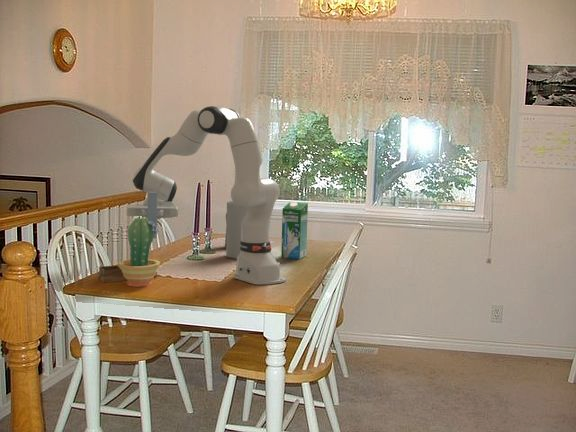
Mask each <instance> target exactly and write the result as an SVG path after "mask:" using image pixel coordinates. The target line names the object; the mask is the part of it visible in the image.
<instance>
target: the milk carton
mask: <svg viewBox="0 0 576 432" xmlns="http://www.w3.org/2000/svg"><path fill="white" fill-rule="evenodd" d="M308 209H309V203H308V202H298V201H297V202H295V201H289V202H288V203H287V204H286V205H285V206H284V207H283V208H282V213H281V214H282V215H281V216H282V218H281V219H282V220H281V221H282V222H281V250H280V251H281V255H280V256H281V258H283V259H284V258H285V259H295V260H300V259H302V258H305V257H307V249H308V247H307V245H308V242H307V240H308V215H309V214H308V213H309V211H308Z"/></svg>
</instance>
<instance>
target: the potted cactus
mask: <svg viewBox="0 0 576 432" xmlns="http://www.w3.org/2000/svg"><path fill="white" fill-rule="evenodd" d="M153 231H154V235H156V236H155V237H157V238H158V234H159V233H158V232H159V230H158V227H157V228H156V226H155V224H154V222H152V221H148V220H147V218H146V217H145V216H141V218H140V217H139V216H136V217H135V218H134V219H133V220H132V221H131V223H130V224H129V226H128V227H127V238H128V243H129V245H130V246H129V247H130V259H125V260H121V261H119V262H118V263H117V264H118V266H119V268H120V269H121V270H122V273H123V276H124V277H125V278H126V280H125V281H127V283H126V285H127V286H130V287H138V288H139V287H148V286H150V285H152V284H153V283H152V280H153V279H154V278H155V277H154V276H155V274H156V272H157V271H158V269H159V268H160V266H161V265H160V264H161V262H160V261H159V260H157V259H151V258H149V255H150V249H151V245H152V242H153V239H154V238H153ZM153 277H154V278H153Z"/></svg>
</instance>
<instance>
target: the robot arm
mask: <svg viewBox="0 0 576 432" xmlns="http://www.w3.org/2000/svg"><path fill="white" fill-rule="evenodd" d="M209 134H210V135H213V134H214V135H218V136H226V137H227V138H228V140H229V141H228V142H229V145H230V150H231V155H232V158H233V163H234V171H235V172H234V174H235V176H234V184H233V186H232V188H231V189H230V198H231V201H233V203H234V204H235V205H237V206H239V207H243V208H248V210H247V213H246V216H245V217H244V219H243V220H242V231H241V241H240V250H241V252H240V254H239V255H238V257H237V259H236V265H235V266H236V268H235V273H234V274H232V279H237V280H239V281H241V282H246V283H248V284H249V283H250V284H252V285H261V286H262V285H274V284H281V283H285V282H286V281H287V279H286V278H285V277H284V276H283V275H281V273H280V272H281V271H280V269H281V263H280V262H278V261H277V260H276V258H275V256H274V254H273V253H272V245H271V241H270V223H271V217H272V214H273V210H274V207H275V204H276V202H277V200H278V199H279V197H280V195H281V194H280V193H281V189H280V185H279V184H278V183H277V181H275V180H273V179H271V178H267V177H260V169H261V165H262V164H263V157H262V152H261V148H260V145H259V140H258V137H257V133H256V130H255V128H254V124H253V123H252V121H251V120H250V119H249V118H247V117H243V116H241V115H240V114H239V113H238V111H236V110H234V109H232V108H227V107H224V106H213V105H211V106H206V107H203V108H202V109H201V110H196V109H195V110H193V111H191V112H190V113H189V114H188V116H187V117H186V118H185V119H184V121H183V122H182V124H181V125H180V128H179V129H178V131H177V132H176V133H175V134H174V135H172V136H167V137H165V138H164V139H163V140H162V141H161V142H160V143H159V145H158V146H157V147H156V148H155V150H153V152H152V153H151V154H150V155H149V157H148V158H147V160H146V161H144V163H143V164H142V165H141V167H139V169H137V171H136V172H135V173H134V174H133V178H132V184H133V186H134V187H135V189H137V190H139V191H142V192H145V193H147V194H148V192H157V220H161V219H166V218H167V219H168V218H170V219H171V218H177V217H179V207H178V205H177V204H175V202H174V201H173V200H174V198H175V196H176V193H177V189H178V186H177V183H176V180H173V178H172V179H171V178H170V177H167V176H166V175H163V174H162V173H159V172H157V171H156V170H154V168H155V166H156V165H157V164H158V163H159V161H160V160H162V158H163V157H164V156H168V155H169V156H170V155H176V156H180V157H189V156H192V155H195V154H196V153H197V152H199V150H200V148H201V147H202V146H203V144H204V142H205V140H206V138H207V137H208V135H209ZM147 213H148V196H147V197H146V198H145V199H144V201H143V204H140V205H138V204H136V205H135V204H131V205H128V206H127V207H126V216H128V217H144V218H147Z"/></svg>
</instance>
